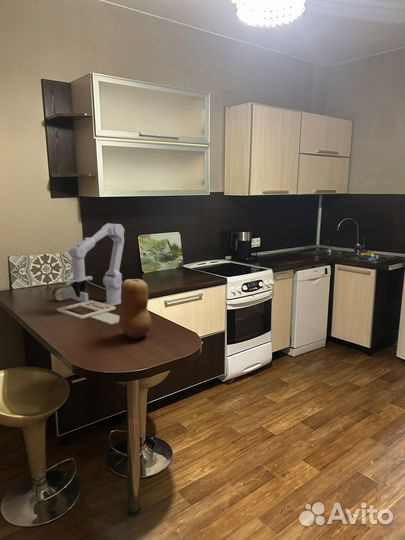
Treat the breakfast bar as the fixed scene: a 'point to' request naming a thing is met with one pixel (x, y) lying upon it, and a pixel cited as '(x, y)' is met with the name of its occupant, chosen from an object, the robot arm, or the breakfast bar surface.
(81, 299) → the grey rectangular block
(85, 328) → the breakfast bar surface
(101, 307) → the offcut upper
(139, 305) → the butternut squash
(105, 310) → the rack
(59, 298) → the tin
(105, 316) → the mat
